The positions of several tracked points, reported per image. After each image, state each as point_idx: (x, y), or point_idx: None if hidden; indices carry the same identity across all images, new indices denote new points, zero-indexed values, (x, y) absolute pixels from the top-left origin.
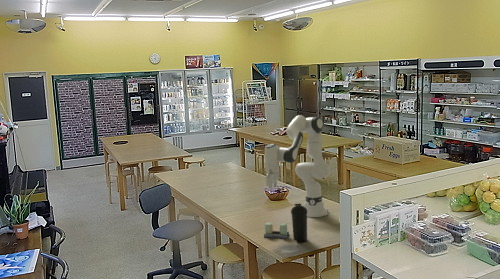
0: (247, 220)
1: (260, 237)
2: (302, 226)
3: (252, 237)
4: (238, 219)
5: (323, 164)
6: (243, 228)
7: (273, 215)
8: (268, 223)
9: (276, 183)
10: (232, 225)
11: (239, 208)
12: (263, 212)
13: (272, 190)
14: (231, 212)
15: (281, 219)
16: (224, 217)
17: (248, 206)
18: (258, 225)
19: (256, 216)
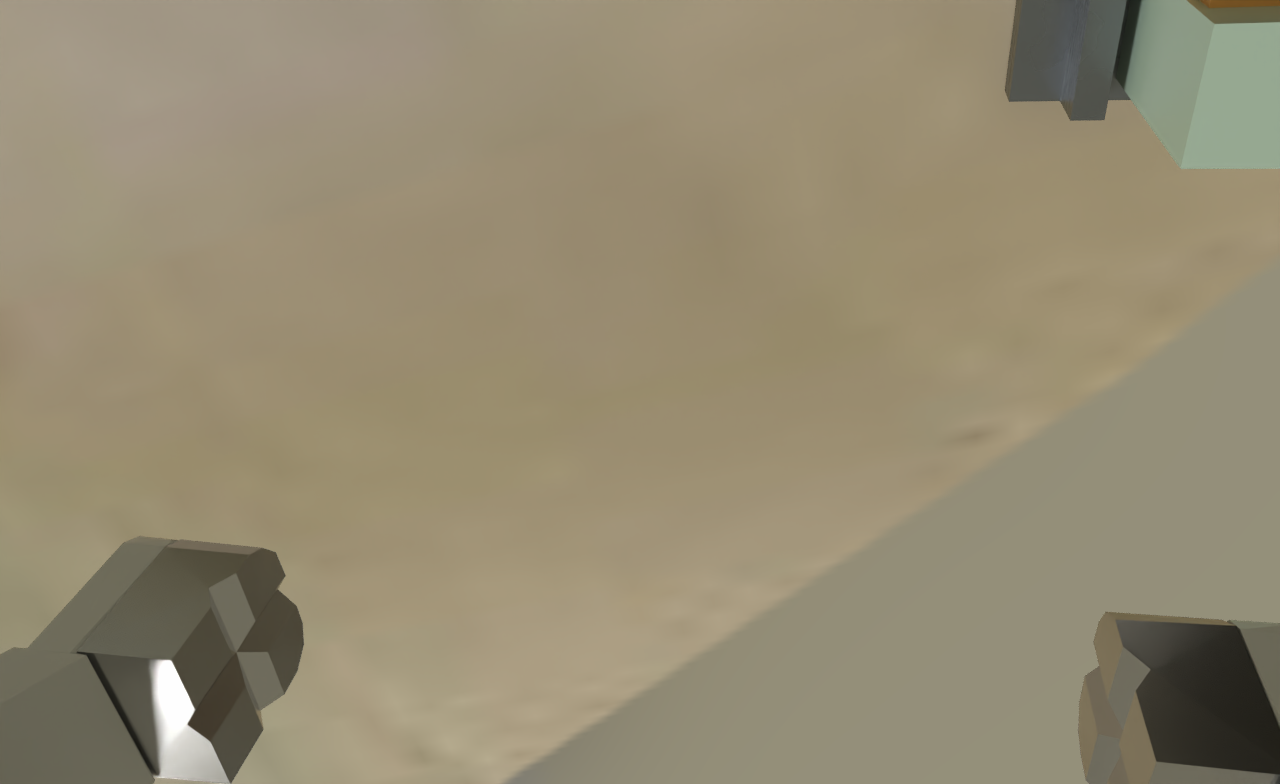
0: (471, 530)
1: (1186, 173)
2: None
3: (1180, 306)
4: (475, 630)
5: None
6: (785, 513)
7: (130, 239)
8: (1266, 99)
9: (9, 698)
10: (700, 650)
11: None
12: (99, 408)
13: (1276, 639)
14: (290, 731)
15: (229, 50)
16: (466, 763)
17: (19, 615)
18: (617, 349)
19: (283, 458)
